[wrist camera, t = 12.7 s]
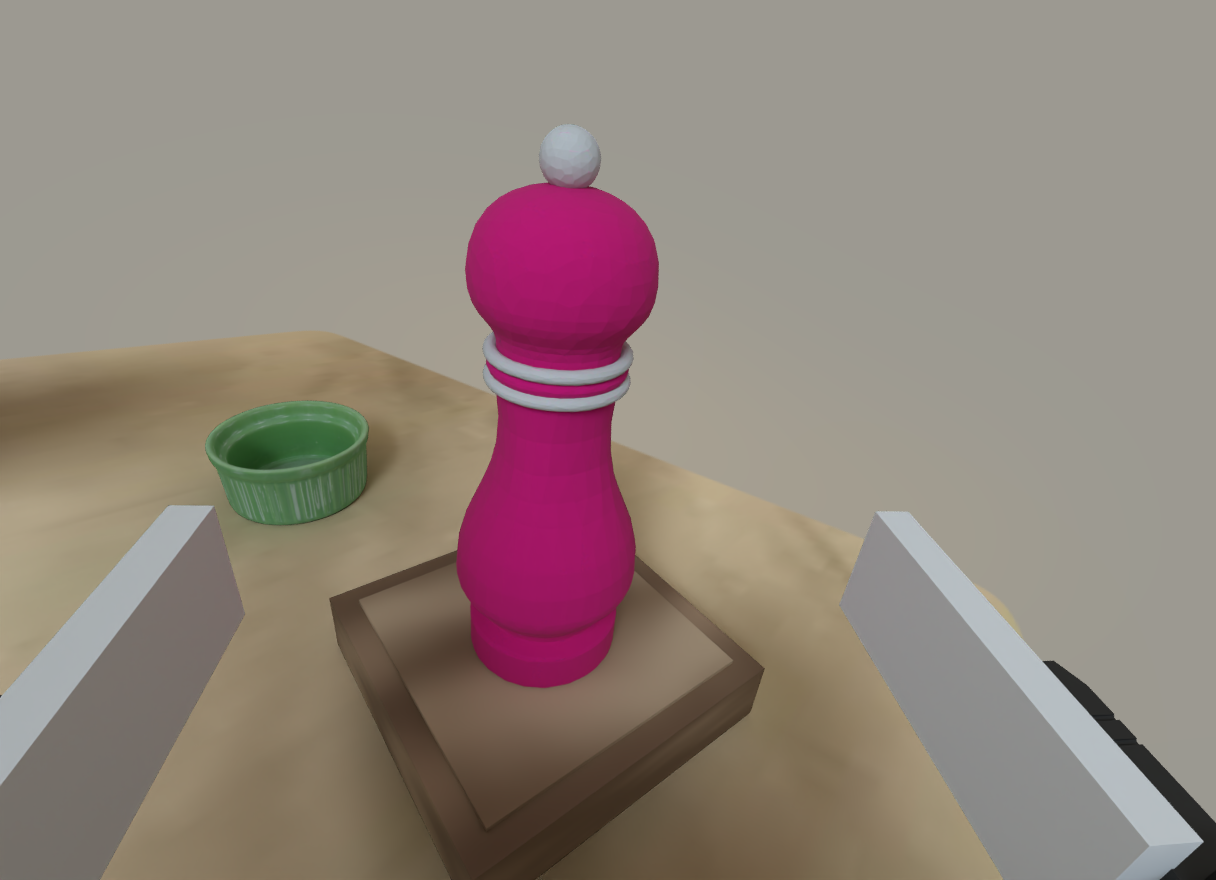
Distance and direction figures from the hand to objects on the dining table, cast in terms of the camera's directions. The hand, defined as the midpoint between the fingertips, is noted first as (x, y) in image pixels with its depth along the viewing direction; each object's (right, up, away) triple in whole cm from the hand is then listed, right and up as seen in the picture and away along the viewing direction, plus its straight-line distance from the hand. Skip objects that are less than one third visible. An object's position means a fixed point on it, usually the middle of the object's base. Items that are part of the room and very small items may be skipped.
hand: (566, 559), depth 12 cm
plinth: (-2, -9, +16) cm, 18 cm away
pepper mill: (-2, -6, +14) cm, 16 cm away
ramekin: (-19, -1, +27) cm, 33 cm away
